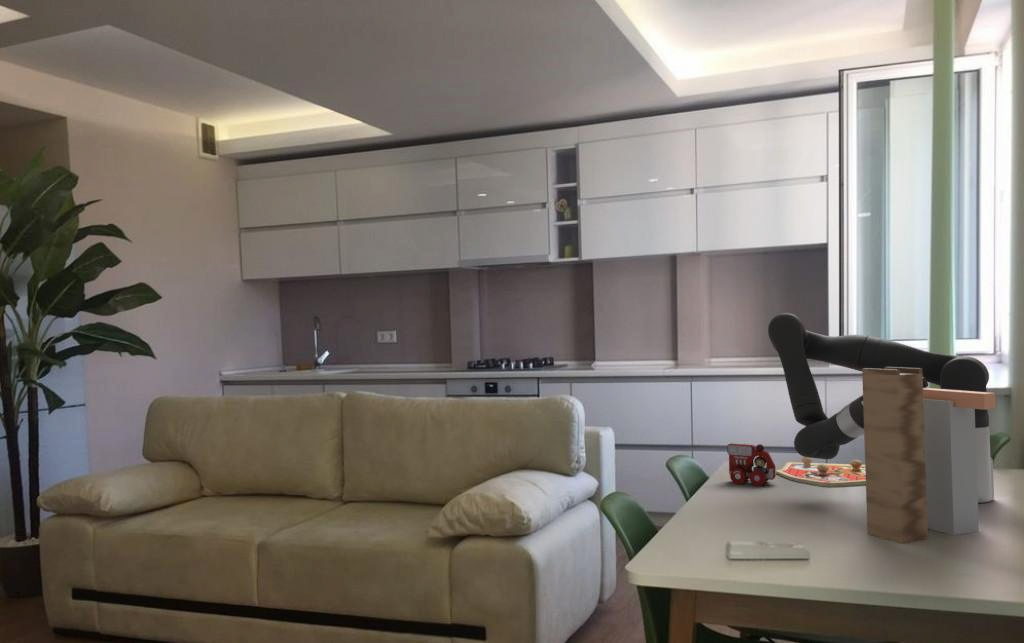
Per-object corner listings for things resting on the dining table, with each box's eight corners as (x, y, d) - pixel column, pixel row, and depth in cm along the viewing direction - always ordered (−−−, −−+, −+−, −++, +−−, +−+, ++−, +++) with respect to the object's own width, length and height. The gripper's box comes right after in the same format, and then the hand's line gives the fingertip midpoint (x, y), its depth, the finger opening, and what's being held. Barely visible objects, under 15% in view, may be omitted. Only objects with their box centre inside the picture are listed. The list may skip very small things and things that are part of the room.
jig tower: (893, 529, 157) (887, 366, 157) (927, 538, 149) (922, 368, 150) (867, 533, 154) (862, 368, 154) (901, 543, 147) (895, 370, 147)
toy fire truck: (771, 487, 200) (770, 447, 200) (724, 483, 207) (723, 444, 207) (778, 482, 206) (777, 443, 206) (732, 478, 213) (730, 440, 213)
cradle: (938, 520, 162) (934, 396, 163) (978, 530, 154) (974, 399, 154) (914, 524, 160) (910, 398, 160) (953, 535, 151) (949, 401, 152)
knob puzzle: (888, 471, 219) (888, 455, 219) (893, 492, 192) (892, 474, 192) (780, 466, 231) (779, 451, 231) (770, 486, 204) (769, 469, 204)
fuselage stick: (899, 399, 168) (898, 385, 168) (995, 408, 148) (995, 393, 148) (889, 400, 167) (888, 386, 167) (984, 409, 147) (984, 393, 147)
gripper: (831, 402, 175) (884, 367, 161) (878, 398, 180) (933, 364, 167) (845, 433, 171) (900, 399, 158) (892, 428, 177) (950, 395, 163)
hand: (917, 381), depth 162 cm, fingers open, 4 cm apart
